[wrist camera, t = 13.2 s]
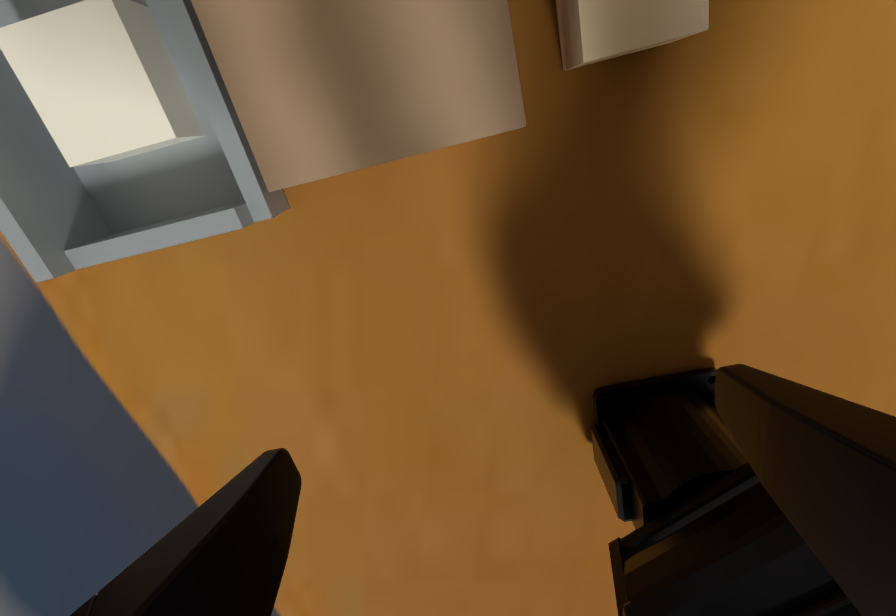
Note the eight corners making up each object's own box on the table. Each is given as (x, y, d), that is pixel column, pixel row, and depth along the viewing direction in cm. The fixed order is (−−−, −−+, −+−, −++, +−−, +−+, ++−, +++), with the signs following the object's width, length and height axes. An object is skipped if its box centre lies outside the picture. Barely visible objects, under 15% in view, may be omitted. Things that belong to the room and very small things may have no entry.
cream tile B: (149, 7, 15) (108, -8, 14) (205, 135, 17) (176, 137, 15) (43, 40, 16) (-10, 31, 14) (109, 162, 18) (69, 167, 16)
